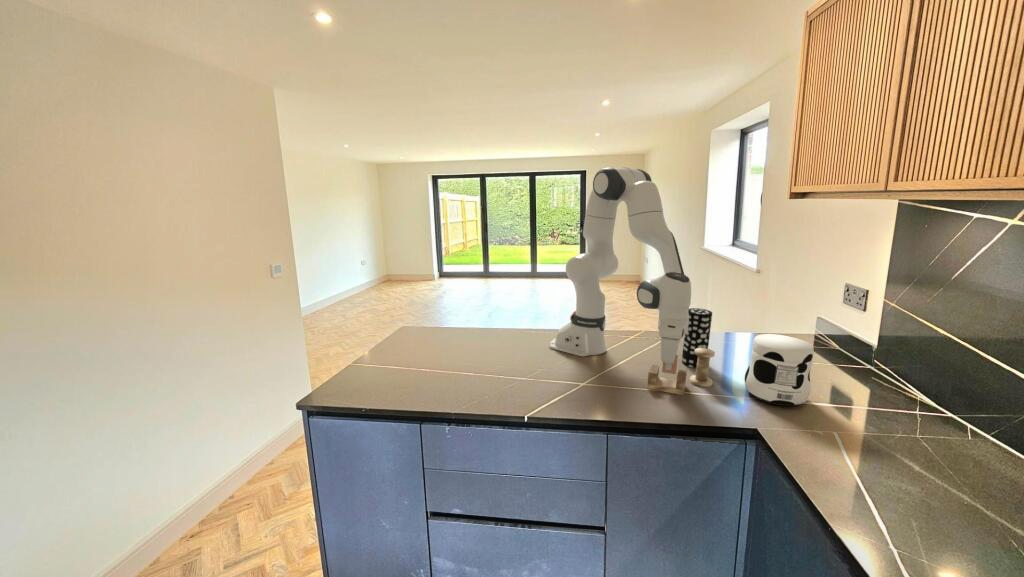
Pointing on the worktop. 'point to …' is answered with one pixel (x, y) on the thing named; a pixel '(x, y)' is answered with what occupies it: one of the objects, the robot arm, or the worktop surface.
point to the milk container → (780, 369)
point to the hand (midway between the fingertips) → (669, 366)
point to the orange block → (674, 367)
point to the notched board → (666, 381)
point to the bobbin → (702, 368)
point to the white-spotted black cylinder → (696, 335)
